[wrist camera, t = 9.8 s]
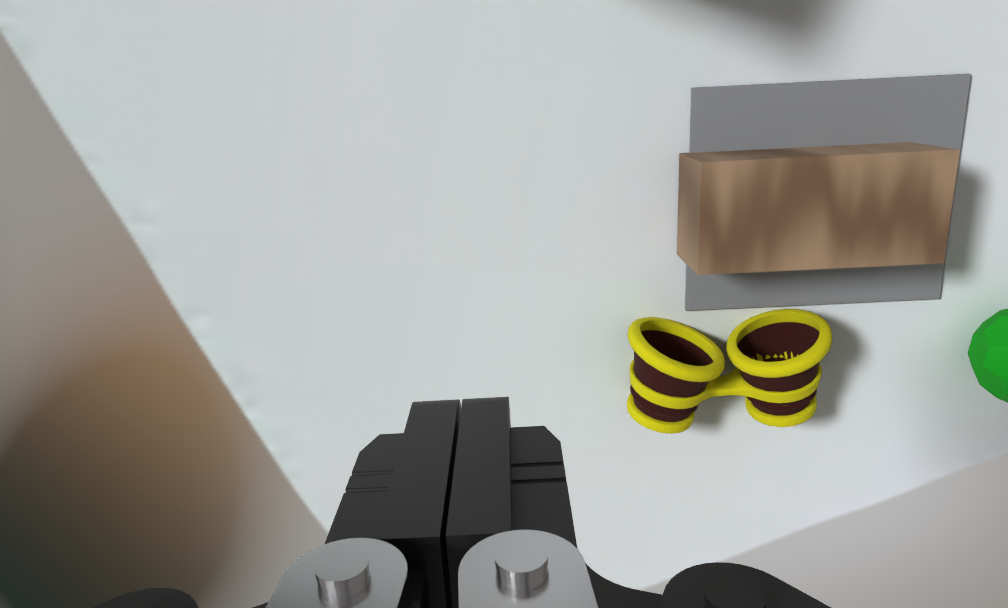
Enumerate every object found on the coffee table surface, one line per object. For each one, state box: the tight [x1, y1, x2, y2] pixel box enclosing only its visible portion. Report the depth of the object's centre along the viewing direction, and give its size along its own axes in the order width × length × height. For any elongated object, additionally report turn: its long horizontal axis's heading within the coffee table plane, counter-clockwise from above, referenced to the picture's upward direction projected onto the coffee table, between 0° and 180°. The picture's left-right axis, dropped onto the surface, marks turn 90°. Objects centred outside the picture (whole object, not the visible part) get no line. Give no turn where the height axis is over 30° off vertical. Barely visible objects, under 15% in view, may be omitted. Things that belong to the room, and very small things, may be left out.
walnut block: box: [677, 142, 960, 275], centre depth 33 cm, size 5×4×11 cm
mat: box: [685, 74, 971, 311], centre depth 35 cm, size 11×13×1 cm
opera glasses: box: [627, 309, 832, 434], centre depth 36 cm, size 10×5×5 cm, turn 94°
